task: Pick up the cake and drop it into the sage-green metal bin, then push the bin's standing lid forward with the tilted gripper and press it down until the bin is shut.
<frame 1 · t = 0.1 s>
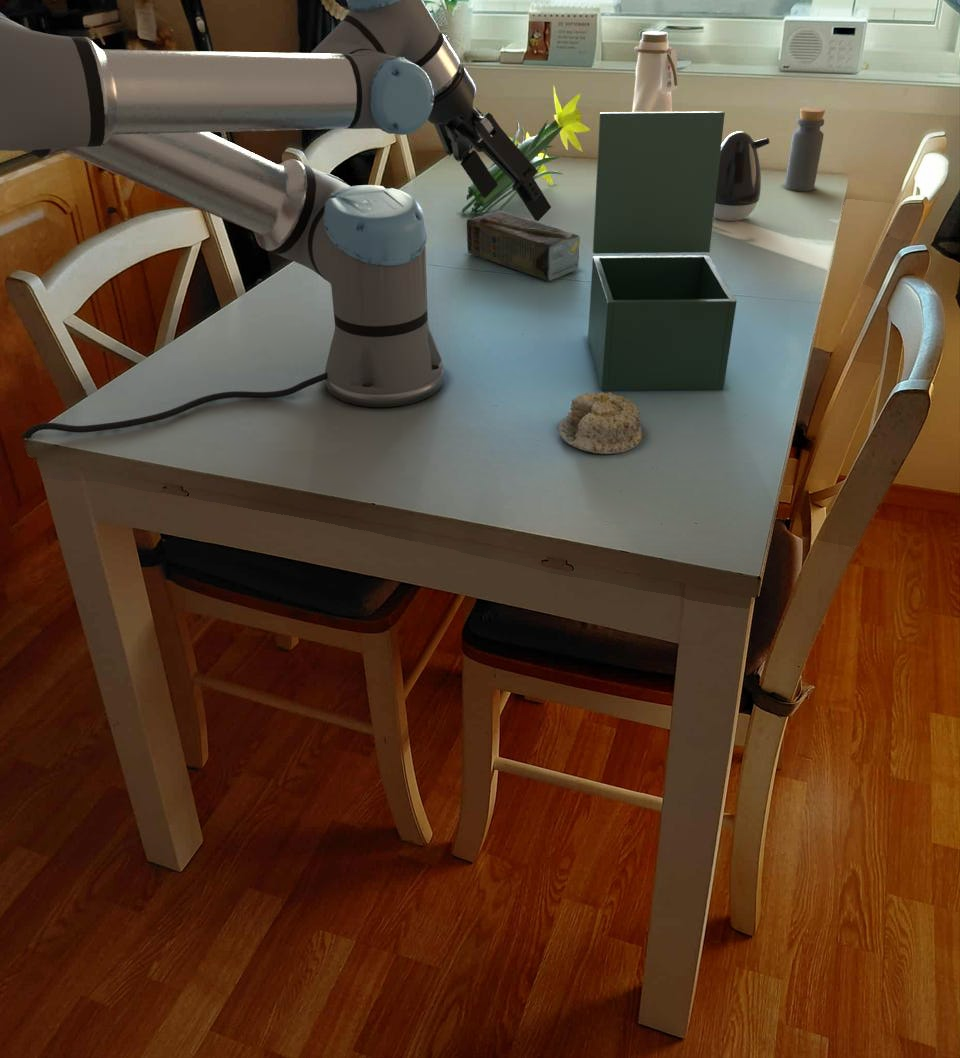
hand: (516, 202, 140), 15 cm above the table, tool tilted 35°, fingers open, 13 cm apart
beverage carton: (521, 263, 164), on the table
daffodil flowers: (522, 199, 195), on the table
bin lid: (656, 184, 127), point 21 cm above the table, hinge at 95.0°
cake: (599, 435, 115), on the table
bottle: (798, 188, 200), on the table
water bottle: (645, 183, 204), on the table
bin: (652, 362, 131), on the table
pump dispenser: (729, 218, 184), on the table
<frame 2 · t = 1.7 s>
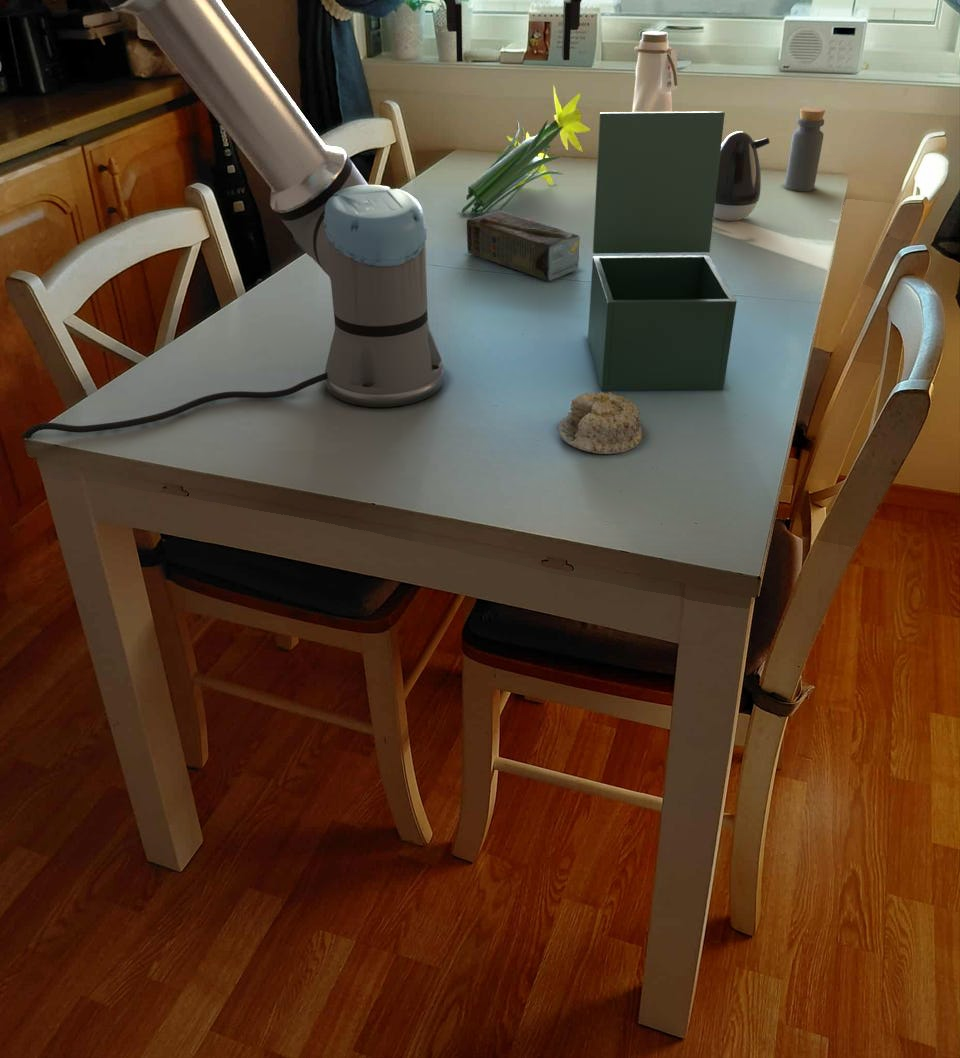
hand: (512, 59, 125), 35 cm above the table, tool pointing down, fingers open, 13 cm apart
nothing on the table moved.
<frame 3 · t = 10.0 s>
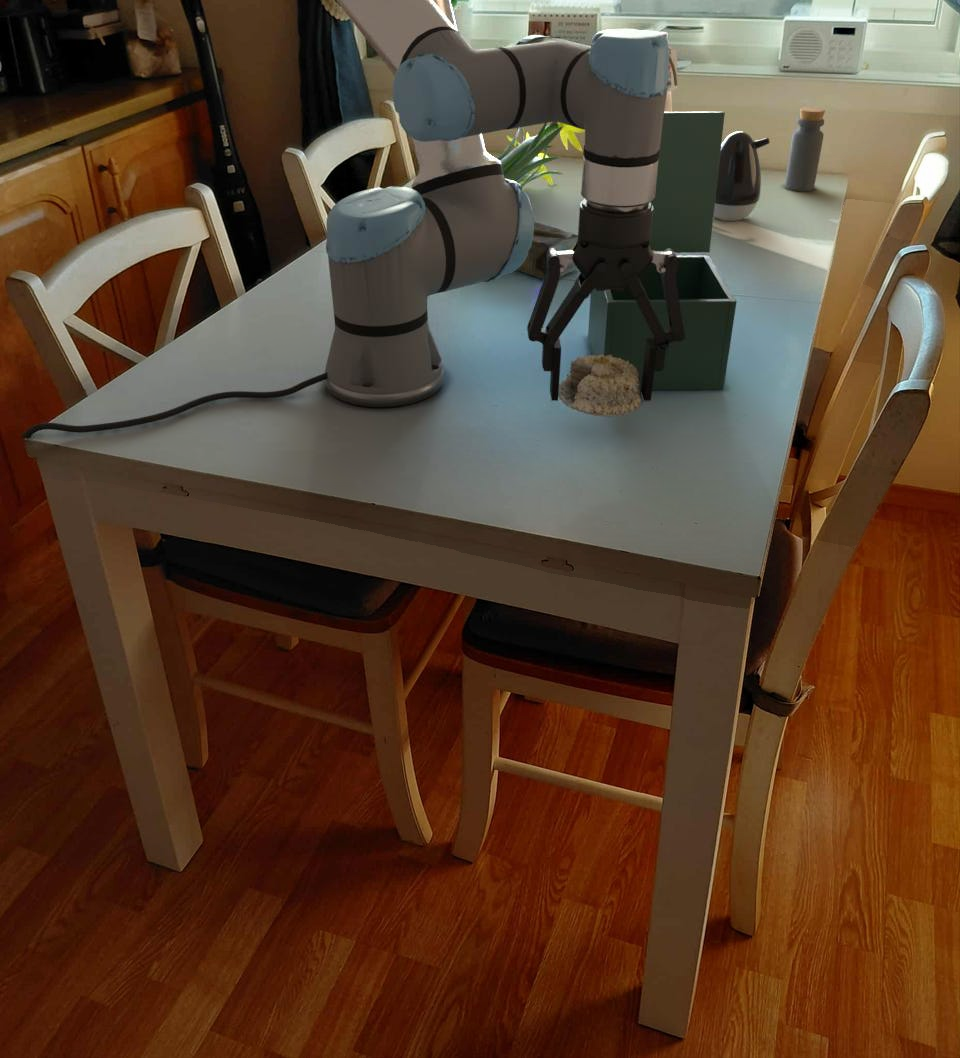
hand: (599, 395, 113), 5 cm above the table, tool pointing down, fingers closed on cake, 10 cm apart
cake: (599, 398, 113), point 4 cm above the table, touching gripper
everything else where it was.
when the fingers open (12 cm above the table, at t = 14.3 s): cake drops 11 cm, resting on bin.
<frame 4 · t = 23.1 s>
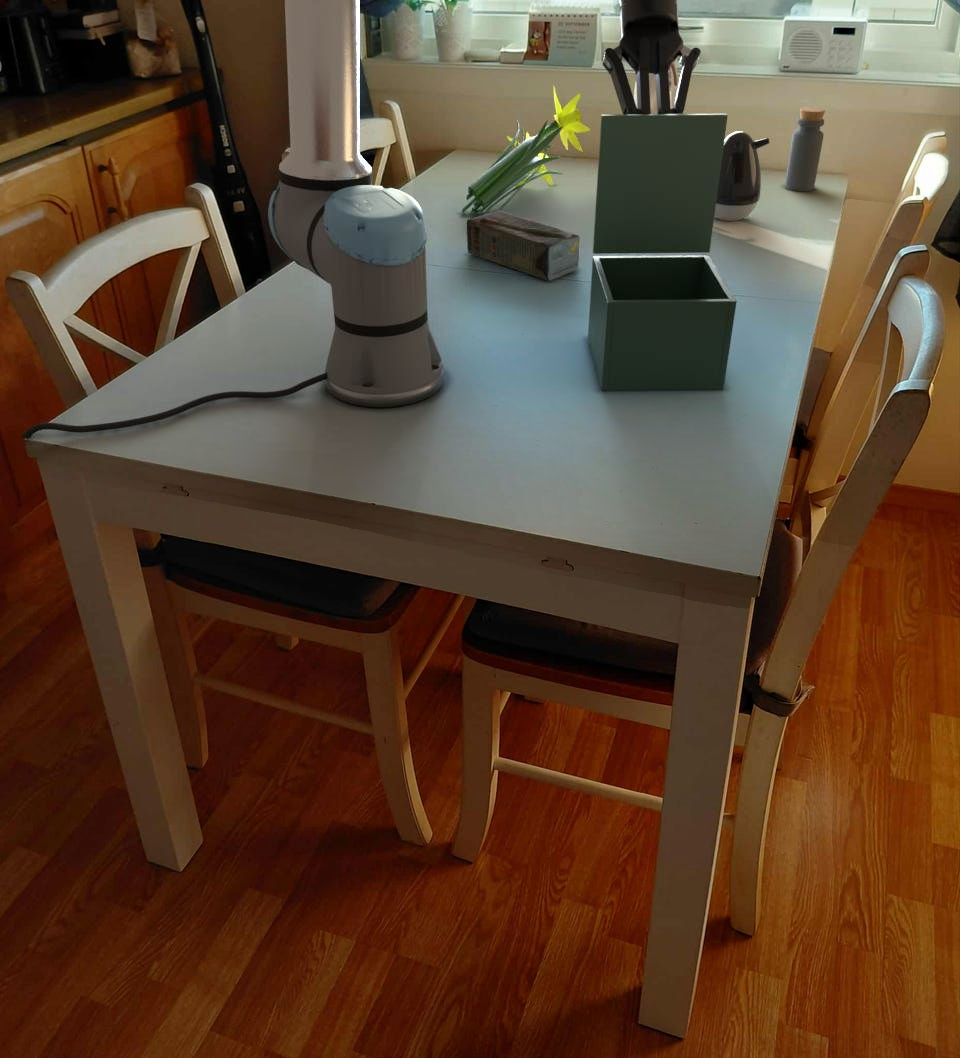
hand: (657, 168, 127), 23 cm above the table, tool tilted 45°, fingers closed
bin lid: (657, 186, 126), point 21 cm above the table, hinge at 89.6°, touching gripper
cake: (651, 363, 130), point 1 cm above the table, touching bin
everything else where it was.
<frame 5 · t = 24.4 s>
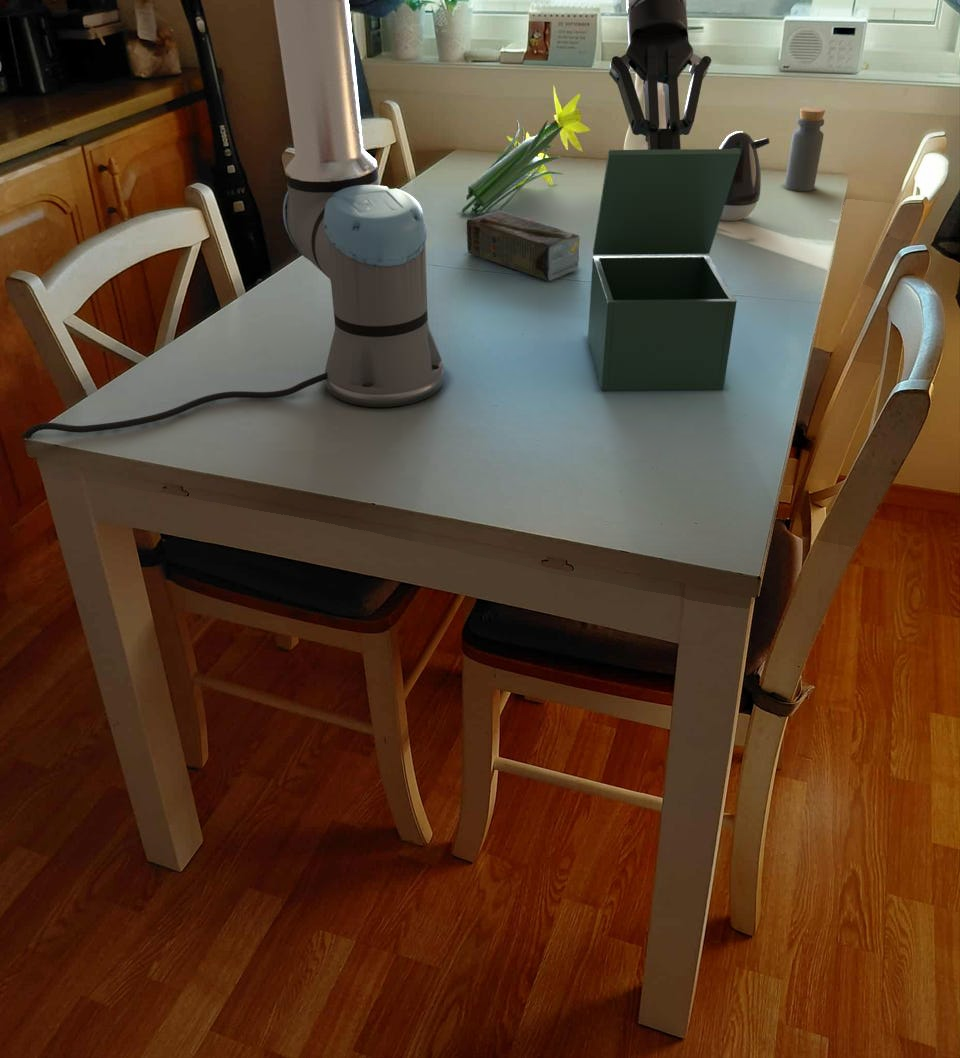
hand: (665, 182, 121), 23 cm above the table, tool tilted 45°, fingers closed
bin lid: (662, 205, 123), point 20 cm above the table, hinge at 59.8°, touching gripper
everything else where it was.
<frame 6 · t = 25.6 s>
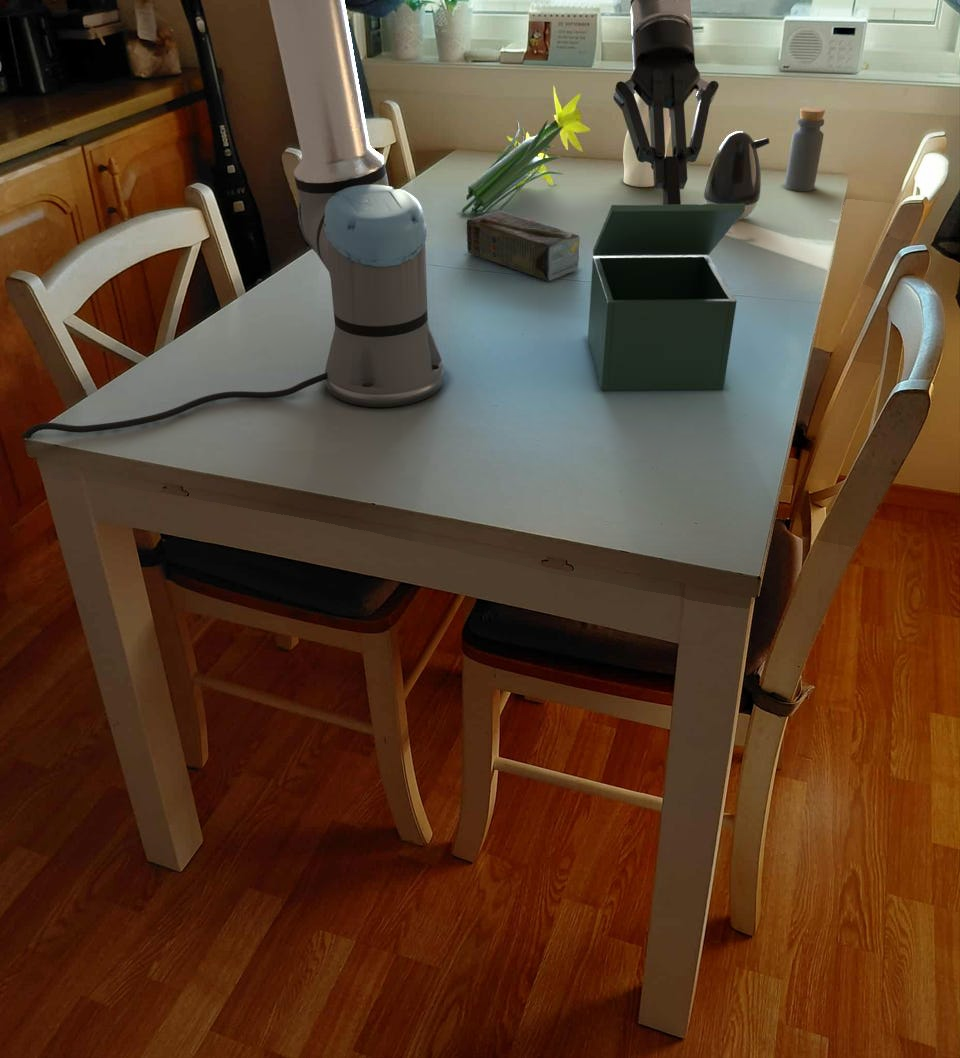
hand: (672, 211, 118), 21 cm above the table, tool tilted 45°, fingers closed
bin lid: (663, 231, 123), point 17 cm above the table, hinge at 35.4°, touching gripper
everything else where it was.
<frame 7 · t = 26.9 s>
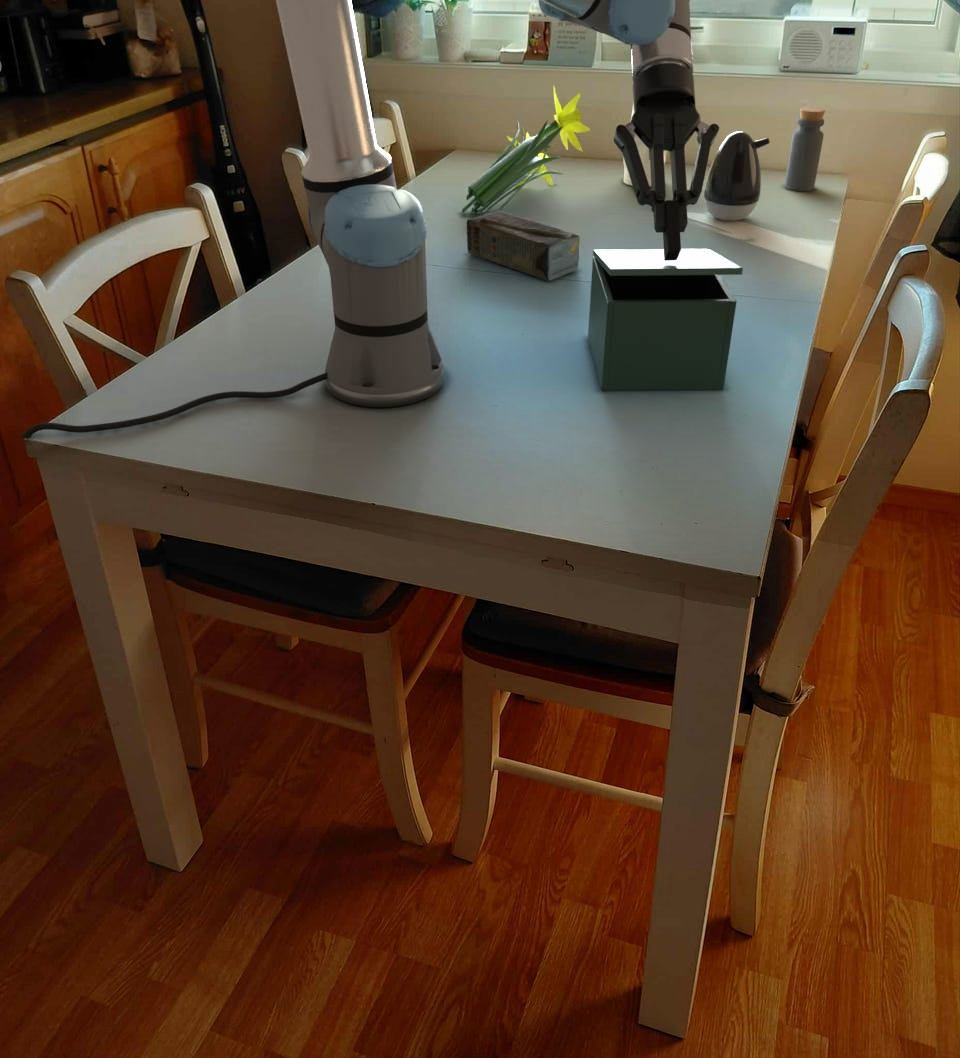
hand: (672, 255, 118), 16 cm above the table, tool tilted 45°, fingers closed
bin lid: (662, 261, 123), point 14 cm above the table, hinge at 11.3°, touching gripper
everything else where it was.
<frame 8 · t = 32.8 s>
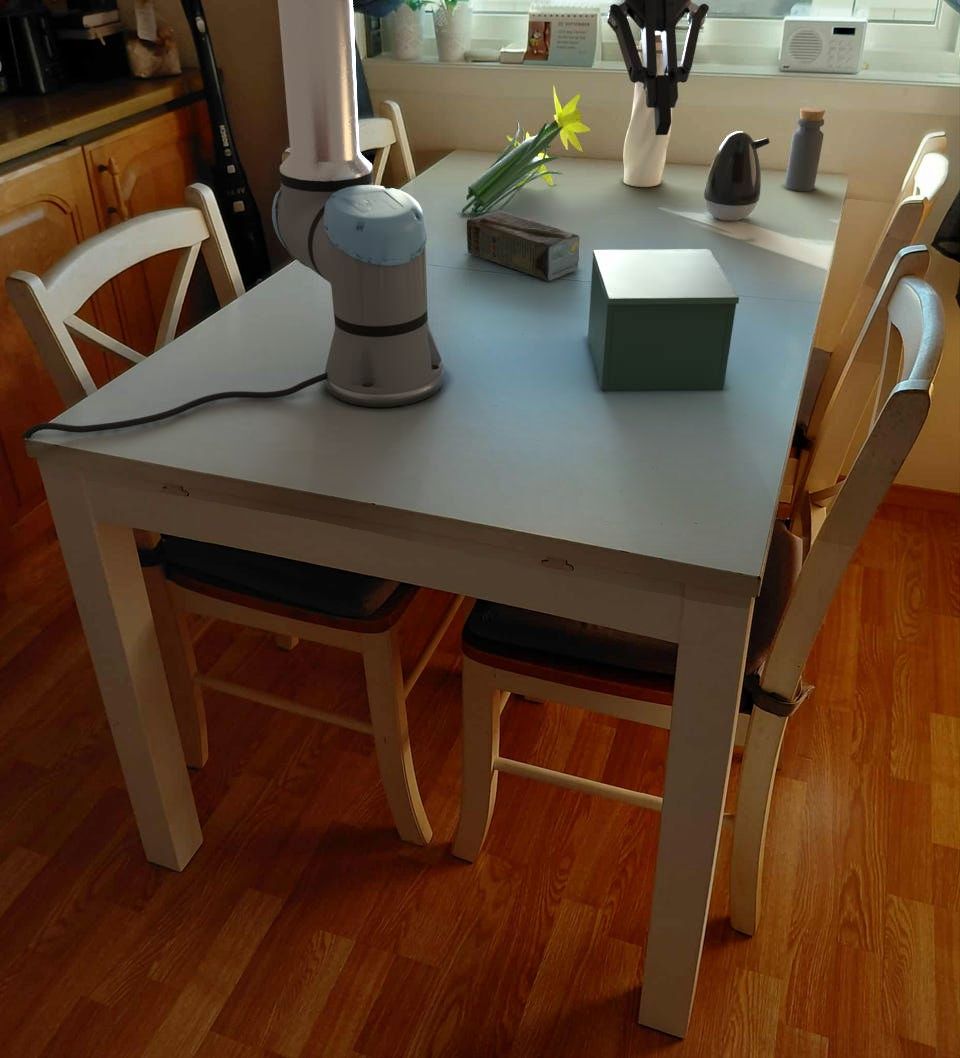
hand: (663, 128, 122), 28 cm above the table, tool tilted 45°, fingers closed
bin lid: (661, 275, 124), point 12 cm above the table, hinge at -0.2°, touching bin
everything else where it was.
at the end: cake inside the target area in the bin (1.6 cm from its centre), point 0.6 cm above the bin's base; bin lid at +0° (first picture: +95°) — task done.
